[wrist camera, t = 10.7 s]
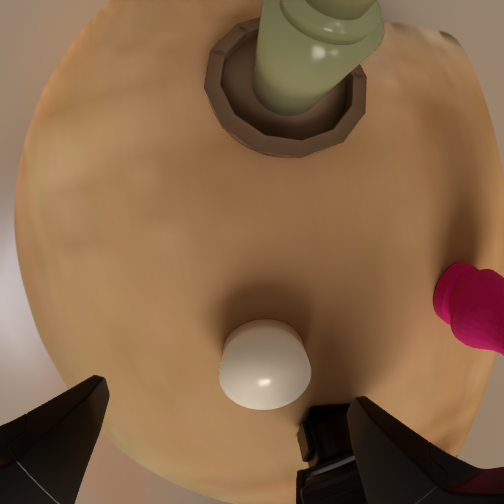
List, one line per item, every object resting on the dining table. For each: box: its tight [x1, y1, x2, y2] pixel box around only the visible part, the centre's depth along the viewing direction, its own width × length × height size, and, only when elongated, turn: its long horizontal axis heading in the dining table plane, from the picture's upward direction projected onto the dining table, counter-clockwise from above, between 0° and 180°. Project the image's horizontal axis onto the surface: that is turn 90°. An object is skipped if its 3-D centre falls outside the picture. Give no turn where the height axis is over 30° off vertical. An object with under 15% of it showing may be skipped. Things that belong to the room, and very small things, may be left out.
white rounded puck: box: [219, 319, 311, 410], centre depth 21 cm, size 7×7×4 cm
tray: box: [204, 17, 366, 158], centre depth 16 cm, size 11×11×2 cm
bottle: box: [252, 0, 384, 116], centre depth 9 cm, size 5×5×15 cm
